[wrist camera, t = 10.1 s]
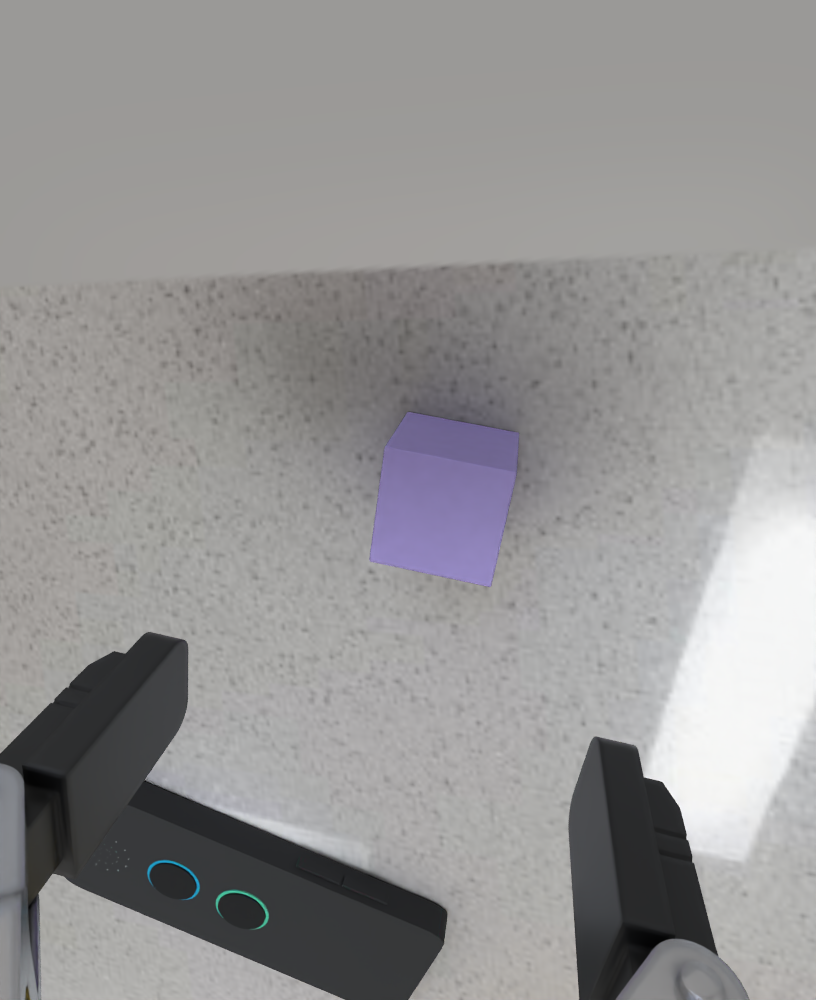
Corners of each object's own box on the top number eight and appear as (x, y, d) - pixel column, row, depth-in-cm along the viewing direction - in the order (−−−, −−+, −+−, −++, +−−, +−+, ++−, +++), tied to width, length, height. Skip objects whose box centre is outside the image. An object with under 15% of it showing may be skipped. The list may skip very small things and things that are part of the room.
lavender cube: (407, 410, 25) (384, 446, 21) (519, 432, 24) (517, 472, 20) (392, 512, 26) (368, 561, 22) (496, 533, 26) (491, 588, 22)
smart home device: (80, 785, 33) (448, 940, 33) (100, 760, 35) (452, 908, 34) (60, 884, 37) (392, 1025, 36) (79, 856, 38) (398, 991, 38)
